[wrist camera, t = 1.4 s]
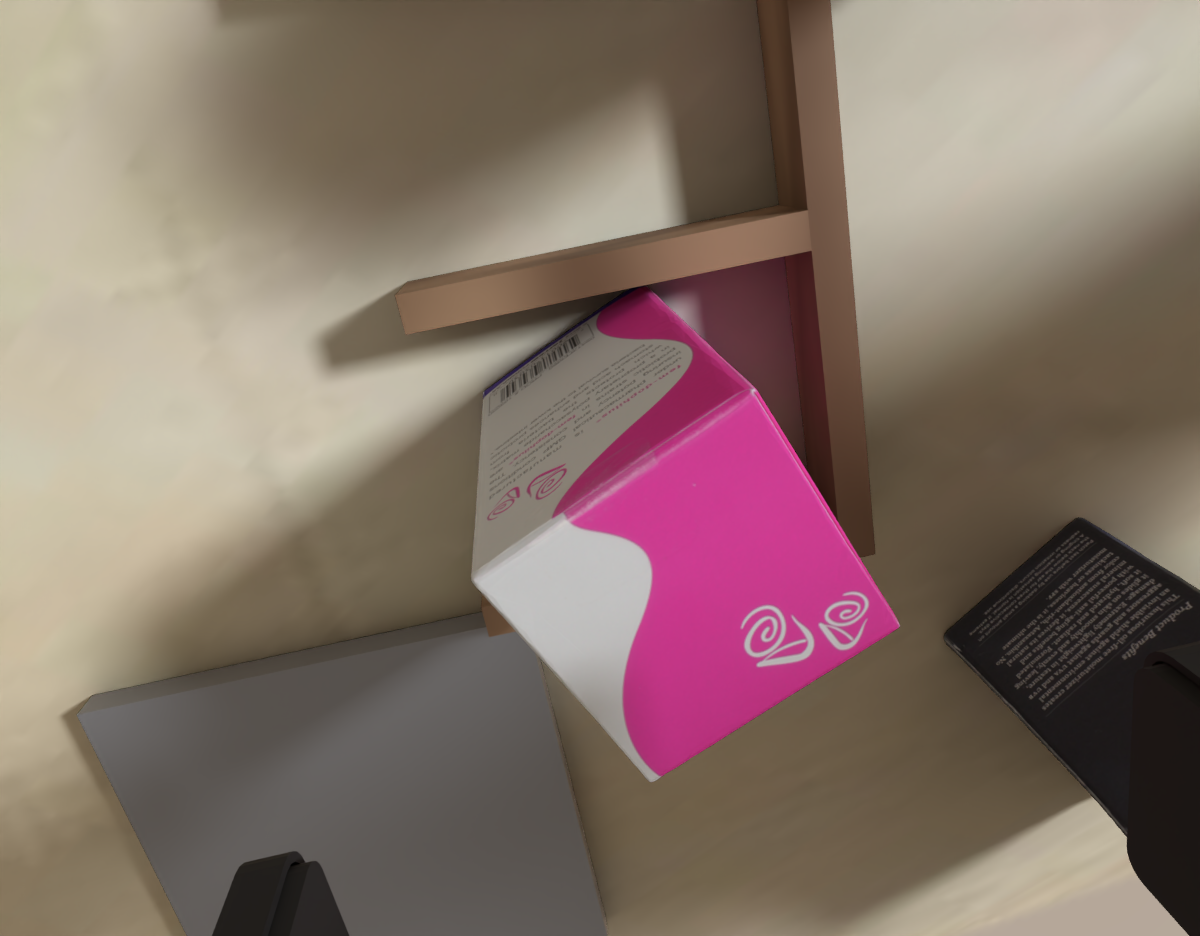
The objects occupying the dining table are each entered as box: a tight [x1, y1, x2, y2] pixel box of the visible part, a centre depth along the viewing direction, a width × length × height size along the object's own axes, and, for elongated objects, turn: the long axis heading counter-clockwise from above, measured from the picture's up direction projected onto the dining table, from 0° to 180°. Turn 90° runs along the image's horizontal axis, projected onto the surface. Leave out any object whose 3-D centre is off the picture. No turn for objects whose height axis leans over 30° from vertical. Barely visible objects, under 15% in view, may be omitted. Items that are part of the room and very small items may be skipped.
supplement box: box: [471, 285, 900, 782], centre depth 20 cm, size 6×6×12 cm
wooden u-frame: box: [395, 0, 875, 637], centre depth 22 cm, size 12×19×2 cm, turn 11°
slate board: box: [77, 612, 608, 936], centre depth 29 cm, size 14×14×1 cm
